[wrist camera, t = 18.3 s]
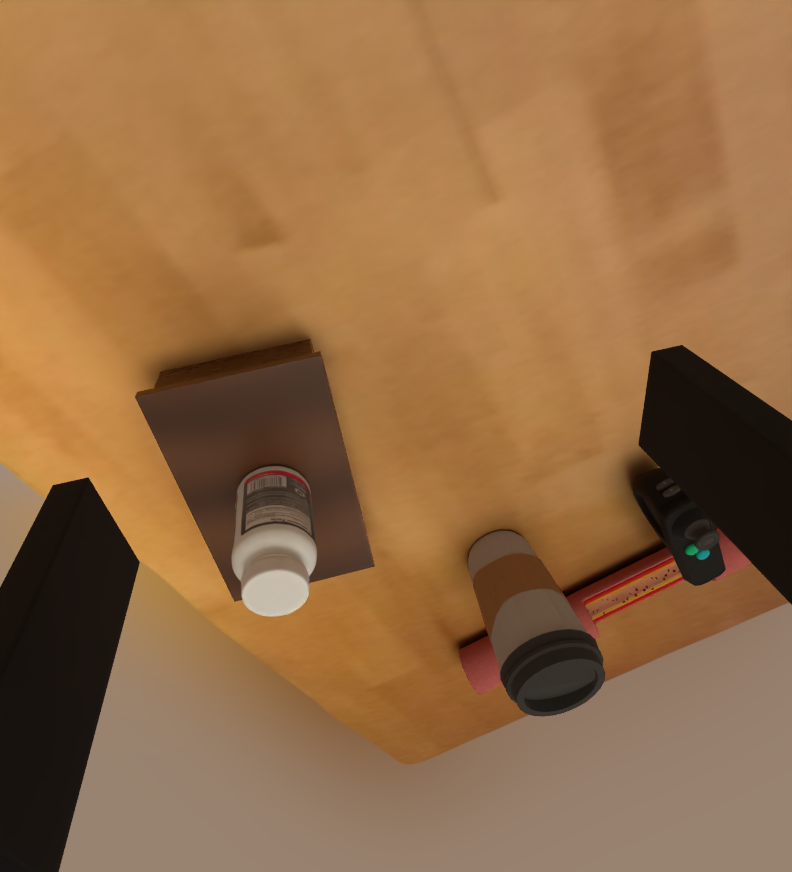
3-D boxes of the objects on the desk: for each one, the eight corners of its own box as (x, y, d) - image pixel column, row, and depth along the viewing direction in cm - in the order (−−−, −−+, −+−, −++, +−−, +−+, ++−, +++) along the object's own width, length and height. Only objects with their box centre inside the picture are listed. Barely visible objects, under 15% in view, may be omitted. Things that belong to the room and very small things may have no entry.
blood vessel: (811, 463, 57) (853, 493, 53) (813, 494, 60) (853, 525, 56) (453, 641, 62) (466, 682, 58) (471, 662, 65) (484, 702, 61)
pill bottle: (292, 528, 43) (296, 632, 35) (224, 508, 41) (213, 614, 33) (323, 477, 41) (336, 574, 33) (254, 453, 39) (250, 551, 31)
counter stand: (147, 366, 39) (134, 396, 35) (316, 329, 39) (321, 355, 36) (237, 562, 50) (234, 601, 46) (367, 530, 51) (374, 566, 47)
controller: (654, 439, 51) (727, 508, 43) (682, 518, 58) (751, 591, 50) (612, 462, 52) (676, 535, 44) (645, 538, 59) (706, 613, 50)
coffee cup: (531, 575, 58) (600, 709, 46) (454, 587, 57) (504, 728, 45) (541, 515, 54) (621, 646, 41) (458, 526, 53) (515, 665, 40)
